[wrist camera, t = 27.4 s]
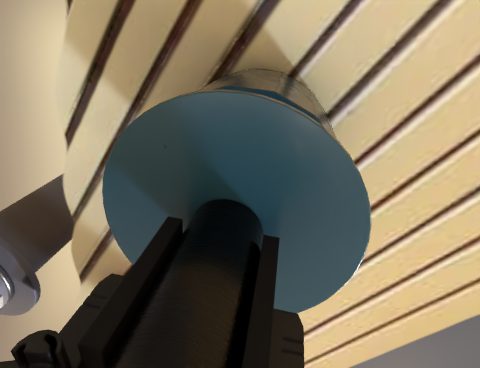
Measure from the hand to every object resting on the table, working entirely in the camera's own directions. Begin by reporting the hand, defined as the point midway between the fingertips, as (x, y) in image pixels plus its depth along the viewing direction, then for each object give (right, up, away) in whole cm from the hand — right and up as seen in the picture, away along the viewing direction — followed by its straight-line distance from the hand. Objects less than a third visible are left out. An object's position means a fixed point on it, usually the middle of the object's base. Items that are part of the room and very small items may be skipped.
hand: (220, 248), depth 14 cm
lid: (0, +1, +2) cm, 2 cm away
